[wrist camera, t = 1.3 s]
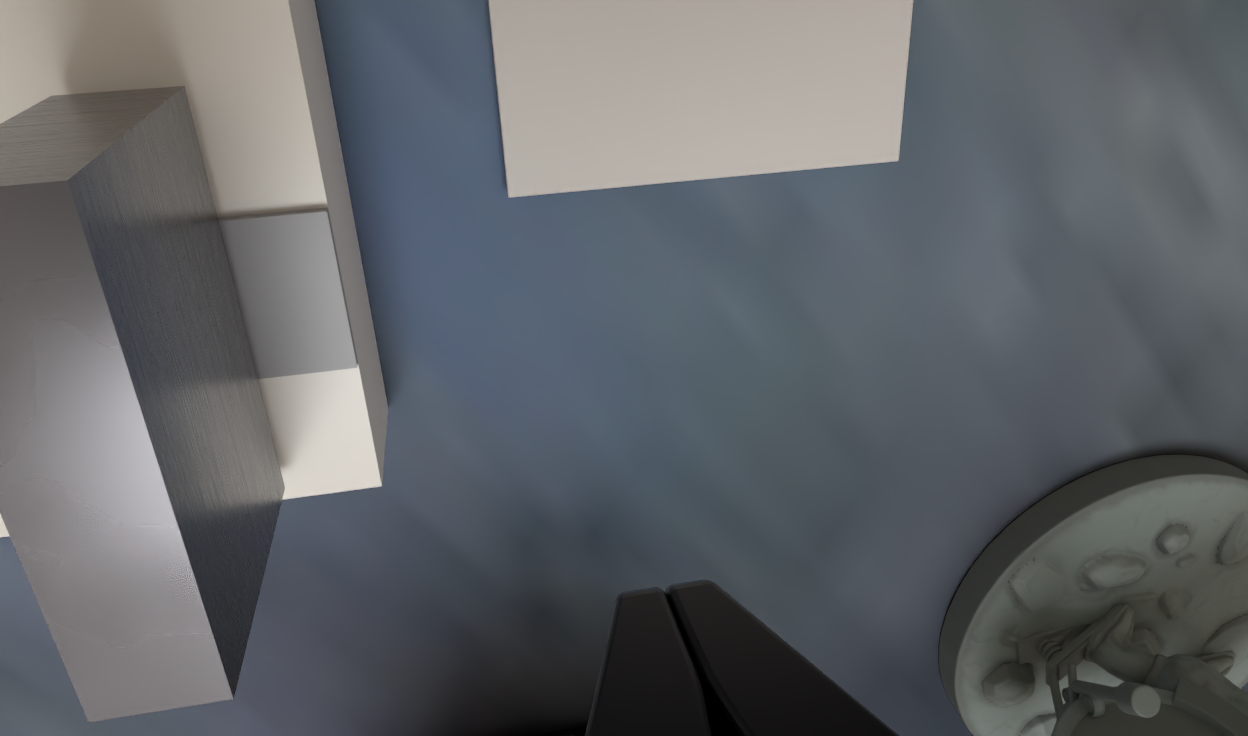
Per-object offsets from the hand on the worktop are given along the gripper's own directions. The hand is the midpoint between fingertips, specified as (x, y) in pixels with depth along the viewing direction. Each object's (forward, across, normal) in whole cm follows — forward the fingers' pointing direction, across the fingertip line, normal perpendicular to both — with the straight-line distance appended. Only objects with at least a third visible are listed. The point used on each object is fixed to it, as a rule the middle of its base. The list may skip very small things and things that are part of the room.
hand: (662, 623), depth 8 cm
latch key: (+9, +8, 0) cm, 12 cm away
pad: (+12, -4, -4) cm, 13 cm away
